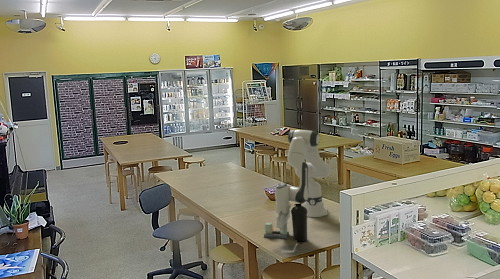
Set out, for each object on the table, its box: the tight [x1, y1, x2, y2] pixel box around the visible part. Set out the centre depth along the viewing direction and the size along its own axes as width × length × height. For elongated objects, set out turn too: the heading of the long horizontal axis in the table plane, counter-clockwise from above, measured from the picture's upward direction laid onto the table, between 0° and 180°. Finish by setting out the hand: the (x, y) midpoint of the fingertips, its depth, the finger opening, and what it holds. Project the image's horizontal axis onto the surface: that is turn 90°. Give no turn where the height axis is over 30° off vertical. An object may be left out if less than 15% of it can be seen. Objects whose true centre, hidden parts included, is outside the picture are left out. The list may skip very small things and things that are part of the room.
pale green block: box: [280, 223, 288, 235], centre depth 279 cm, size 4×4×8 cm
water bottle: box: [290, 203, 308, 244], centre depth 272 cm, size 10×10×23 cm
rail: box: [263, 230, 290, 241], centre depth 281 cm, size 10×15×3 cm, turn 71°
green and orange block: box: [264, 222, 274, 234], centre depth 282 cm, size 4×4×8 cm
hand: (283, 229), depth 279 cm, fingers open, 8 cm apart
